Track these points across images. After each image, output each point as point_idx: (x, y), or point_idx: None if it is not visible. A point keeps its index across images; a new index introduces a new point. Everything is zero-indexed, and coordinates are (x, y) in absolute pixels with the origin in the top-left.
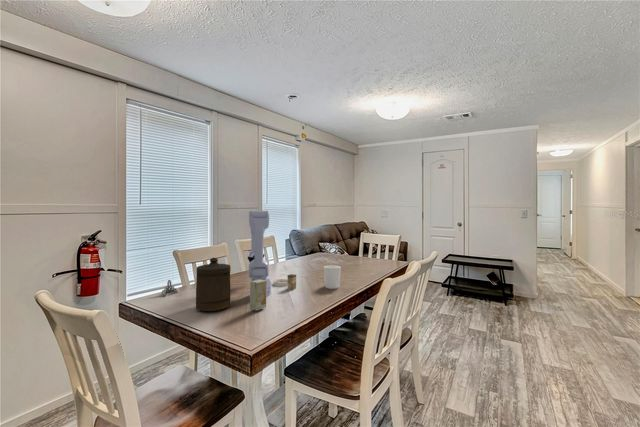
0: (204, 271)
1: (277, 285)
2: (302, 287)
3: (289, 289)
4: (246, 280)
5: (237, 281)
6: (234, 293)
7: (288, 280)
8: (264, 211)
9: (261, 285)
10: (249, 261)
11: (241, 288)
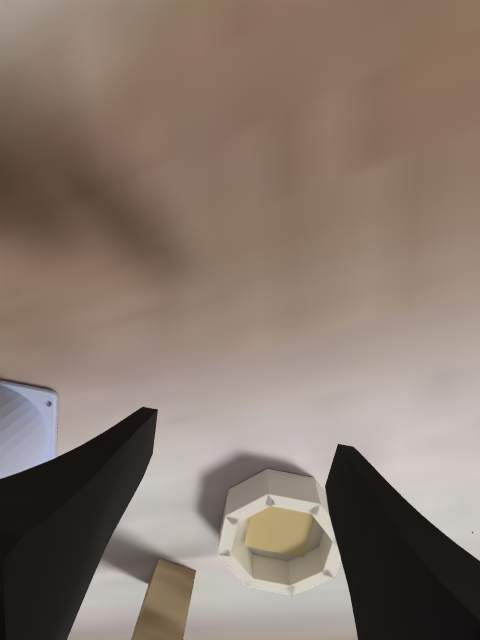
0: None
1: (225, 506)
2: (224, 623)
3: (154, 571)
4: (452, 207)
5: (412, 121)
6: (4, 255)
7: (134, 635)
8: None
9: None
10: (33, 470)
11: (149, 260)
